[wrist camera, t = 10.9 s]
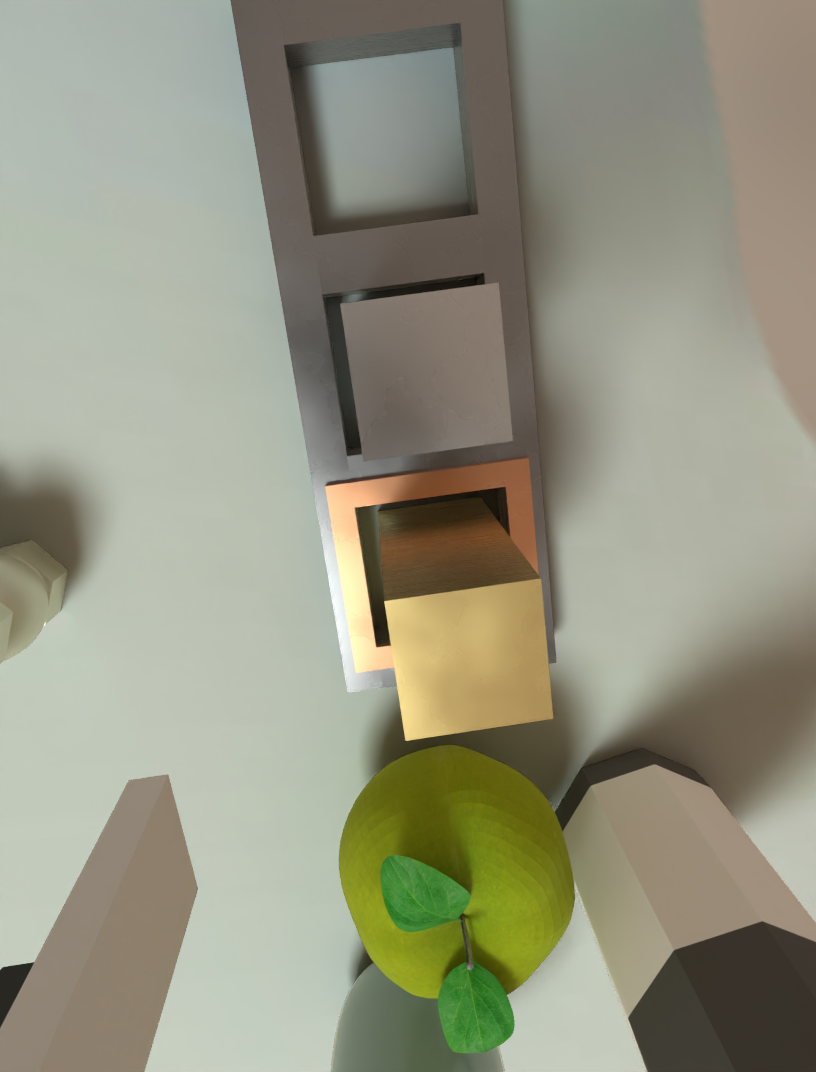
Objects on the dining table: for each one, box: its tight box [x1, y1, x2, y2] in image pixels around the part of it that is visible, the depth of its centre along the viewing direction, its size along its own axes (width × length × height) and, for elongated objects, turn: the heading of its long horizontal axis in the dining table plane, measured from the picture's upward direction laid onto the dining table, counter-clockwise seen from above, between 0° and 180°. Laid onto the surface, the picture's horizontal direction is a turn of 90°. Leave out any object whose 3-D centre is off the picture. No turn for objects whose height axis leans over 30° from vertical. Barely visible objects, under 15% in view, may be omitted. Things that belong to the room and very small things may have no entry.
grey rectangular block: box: [340, 283, 513, 462], centre depth 24 cm, size 4×4×9 cm
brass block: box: [378, 497, 553, 741], centre depth 25 cm, size 4×4×11 cm
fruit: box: [339, 745, 575, 1053], centre depth 29 cm, size 9×9×10 cm
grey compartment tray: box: [231, 0, 556, 693], centre depth 28 cm, size 26×9×2 cm, turn 7°
